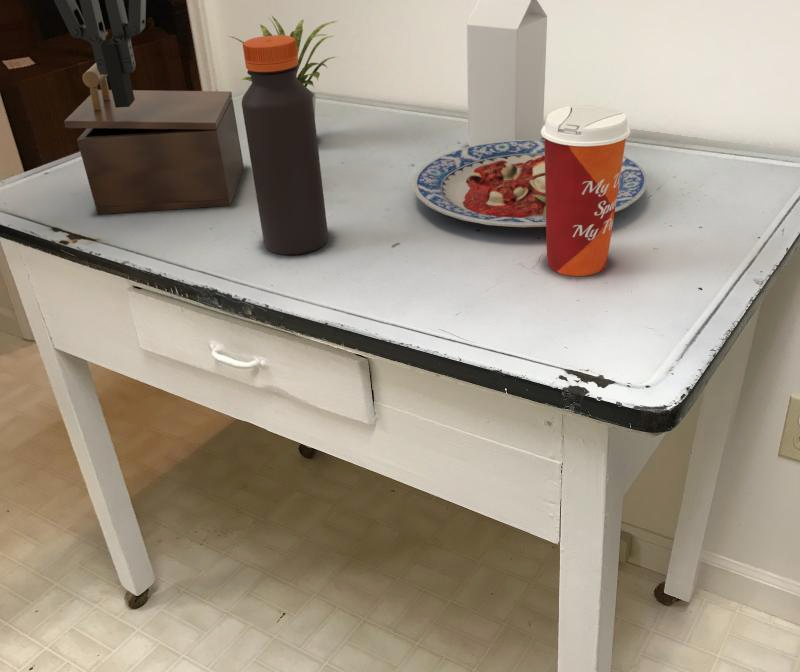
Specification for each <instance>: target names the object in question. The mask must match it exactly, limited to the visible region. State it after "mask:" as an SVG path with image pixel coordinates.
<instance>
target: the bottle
mask: <svg viewBox="0 0 800 672" xmlns="http://www.w3.org/2000/svg"><path fill="white" fill-rule="evenodd" d="M285 35H286V34H285ZM285 35H280V34H279V35H278V34H272V35H271V36H257V37H252V38H250V39H247V40H245V41H243V42H244V43H242V50H243V55H244V63H245V64H246V65H245V64H244V65H245V68H246V70H247V74H248V76H249V77H251V80H252V81H251V84H250V85H249V87H248V89H247V90H246V91H245V93H244V94H243V96H242V98H241V109H242V115H243V121H244V127H245V133H246V140H247V146H248V152H249V158H250V165H251V171H252V177H253V184H254V191H255V197H256V202H257V209H258V215H259V220H260V228H261V233H262V239H263V245H264V246H265V247H266V249H268V250H269V251H270V252H273V253H275V254H280V255H290V256H291V255H292V256H293V255H303V254H306V253H311V252H313V251H315V250H318V249H319V248H321V247H322V246H324V245H325V244H326V243H327V241H328V239H329V231H328V222H327V214H326V206H325V196H324V188H323V177H322V171H321V161H320V151H319V143H318V134H317V125H316V115H315V116H314V107H313V98H312V93H311V91H312V90H310V89H309V88H308V86H307V87H305V86H304V85H305V84H302V83H301V82H300V81H299V80H298V79H297V77H298V75H296V71H297V70H298V71H299V69H298V59H299V52H298V53H297V45H296V39H295V38H293V37H291V36H290V35H286V36H285Z"/></svg>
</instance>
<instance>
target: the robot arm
mask: <svg viewBox="0 0 800 672" xmlns="http://www.w3.org/2000/svg"><path fill="white" fill-rule="evenodd" d="M78 1H79V4H80V8H79V6H78V5H79V4H77V2H76V0H53V2H54V4H55V6H56V8H57V10H58V12H59V14H60V16H61V18H62V20H63V22H64V24H65V26H66V28H67V30H68V32H69V34H70V36H71V38H73V39H80V40H84V41H86V42H88V43H89V44H90V45H91V48H92V52H93V56H94V60H95V63H96V64H97V69H98V71H99V73H100V74H101V75H105V74H108V76H107V79H108V82H109V87H110V90H112V94H113V99H114V103H115V107H116V108H118V107H129V106H130V105H131V104H132V103H133V102H134V100H135V98H134V94H133V90H134V89H133V86H132V82H131V77H130V74H133V73H134V71H135V70H136V66H137V63H136V59H135V55H134V49H133V45H132V38H133V37H135V36H137V35H139V34H141V32H143V30H145V28H146V22H147V21H146V17H147V15H146V13H147V0H128V15H127V12H126V7H125V1H124V0H104V5H105V7H106V12H107V17H108V21H109V26H110V30H111V34H112V37H111V38H107V39H106V37H108V34H109V32H108V31H106V27H105V23H104V17H103V13H102V10H101V6H100V5H101V4H100V1H99V0H78Z"/></svg>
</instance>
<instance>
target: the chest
mask: <svg viewBox="0 0 800 672" xmlns="http://www.w3.org/2000/svg"><path fill="white" fill-rule="evenodd" d="M234 105H235V104H234V100H233V98H232V99H231V101H230V103H229V105H228V107H227V109H226V111H225V113H224V115H223V117H222V119H221V121H220V123H219V125H218V127H217V129H216V130H198V129H109V128H85V130H83V132H82V133H81V134H80V136H78V138H77V139H76V141H77V145H78V149H79V152H80V155H81V159H82V160H81V161H82V164H83V166H84V171H85V174H86V177H87V181H88V185H89V188H90V192H91V195H92V199H93V203H94V206H95V211H96V214H97V215H106V214H107V215H108V214H122V213H123V214H124V213H137V212H140V213H141V212H152V211H153V212H155V211H169V210H170V211H171V210H183V209H185V210H186V209H202V208H214V207H216V208H217V207H230V206H231V204H232V202H233V199H234V196H235V194H236V191H237V188H238V186H239V183H240V181H241V177H242V175H243V172H244V169H245V165H244V160H243V153H242V148H241V141H240V136H239V135H240V134H239V130H238V123H237V118H236V112H235V107H234Z"/></svg>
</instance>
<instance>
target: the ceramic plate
mask: <svg viewBox="0 0 800 672" xmlns="http://www.w3.org/2000/svg"><path fill="white" fill-rule="evenodd" d="M647 185H648V177H647V174H646V171H644V169H643V168H642V167H641V166H640V165H639V164H638V163H637V162H636V161H634V160H632V159H630V158H629V157H627V156H626V155H623V161H622V167H621V174H620V181H619V187H618V194H617V201H616V207H615V213H617V212H619V211H622V210H624V209H626V208H628V207H630V206H631V205H632V204H633V203H634V202H636V201H638V200H639V199H640V198H641V197H642V196H643V195H644V193H645V191H646V190H647ZM412 189H413V192H414V195H415V196H416V198H418V200H420V202H421V203H423V204H424V205H425V206H427V207H428V208H430V209H431V210H434V211H436V212H438V213H440V214H442V215H445V216H448V217H451V218H454V219H458V220H460V221H465V222H471V223H476V224H480V225H481V224H482V225H487V226H498V227H513V228H514V227H515V228H544V227H545V228H546V197H545V140H544V139H540V140H511V141H499V142H492V143H485V144H479V145H475V146H466V147H462V148H458V149H456V150H453V151H450V152H447V153H444V154H441V155H440V156H438V157H436V158H433V159H431V160H430V161H428V162H427V163H426V164H424V165H422V166H421V168H420V169H419V170H418V171H417V172H416V173H415V175H414V177H413V179H412Z"/></svg>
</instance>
